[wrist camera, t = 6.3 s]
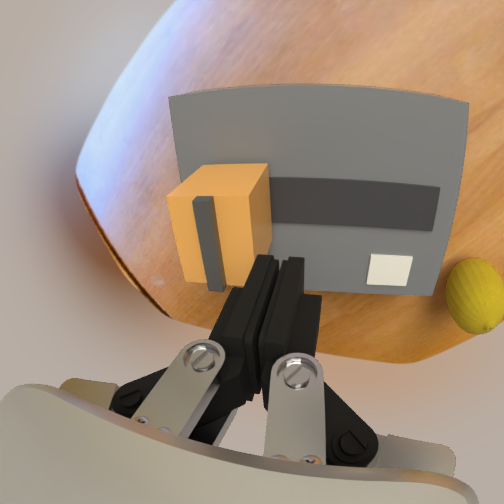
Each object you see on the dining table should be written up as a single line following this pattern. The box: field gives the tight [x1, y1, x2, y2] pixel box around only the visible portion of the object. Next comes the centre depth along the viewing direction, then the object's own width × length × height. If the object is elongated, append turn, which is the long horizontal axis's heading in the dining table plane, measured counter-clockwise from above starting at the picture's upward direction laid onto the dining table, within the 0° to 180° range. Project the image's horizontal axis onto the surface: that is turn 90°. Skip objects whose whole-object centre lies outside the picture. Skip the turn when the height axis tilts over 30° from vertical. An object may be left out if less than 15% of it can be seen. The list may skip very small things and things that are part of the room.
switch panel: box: [168, 84, 469, 296], centre depth 20 cm, size 18×14×5 cm
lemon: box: [445, 258, 504, 334], centre depth 20 cm, size 6×6×8 cm
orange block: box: [166, 163, 272, 292], centre depth 17 cm, size 4×5×6 cm
